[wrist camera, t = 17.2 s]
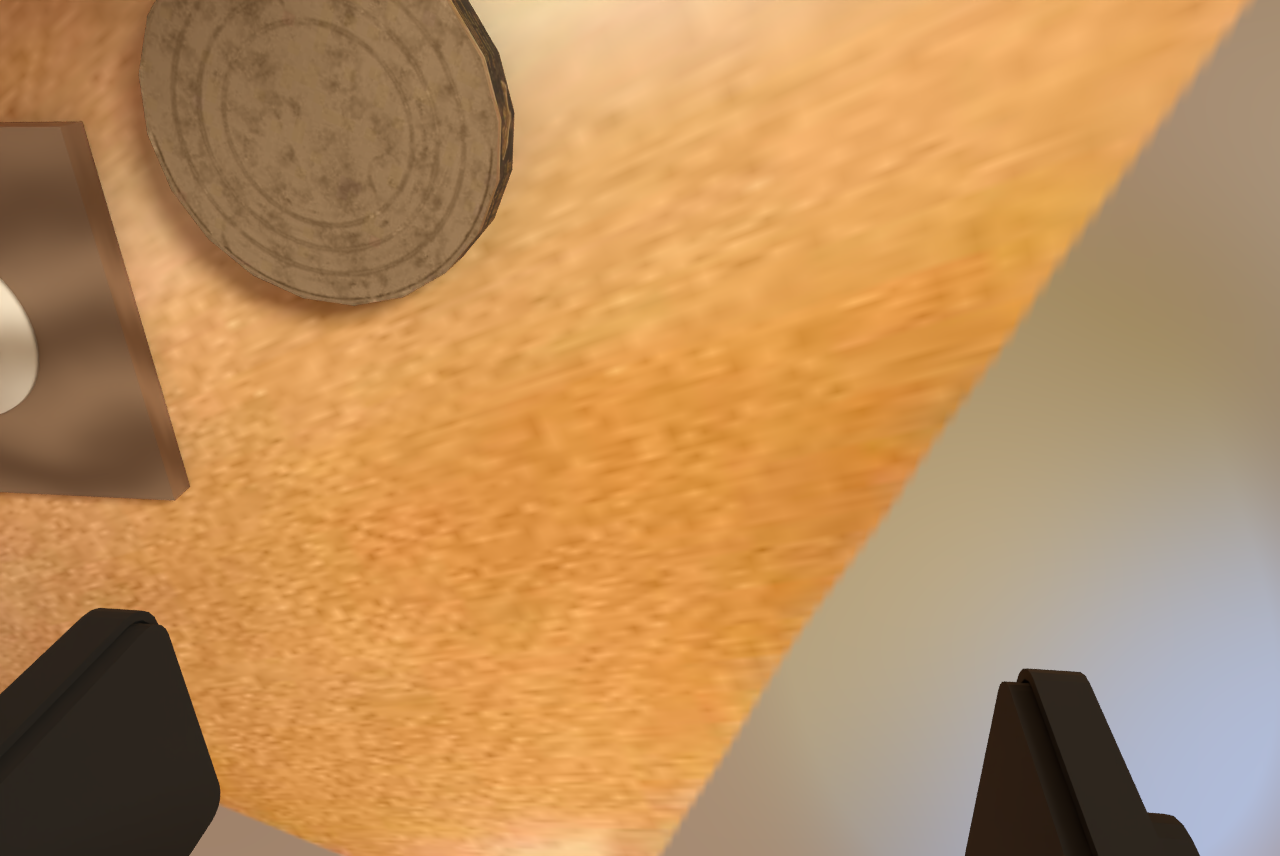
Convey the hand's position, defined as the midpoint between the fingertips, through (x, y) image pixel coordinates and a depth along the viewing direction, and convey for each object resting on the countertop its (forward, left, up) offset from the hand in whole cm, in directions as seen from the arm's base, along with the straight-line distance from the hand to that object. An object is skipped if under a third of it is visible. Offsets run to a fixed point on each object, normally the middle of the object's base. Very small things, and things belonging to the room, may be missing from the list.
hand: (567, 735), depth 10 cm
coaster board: (+8, -40, -33) cm, 53 cm away
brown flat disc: (-2, -17, -34) cm, 38 cm away
